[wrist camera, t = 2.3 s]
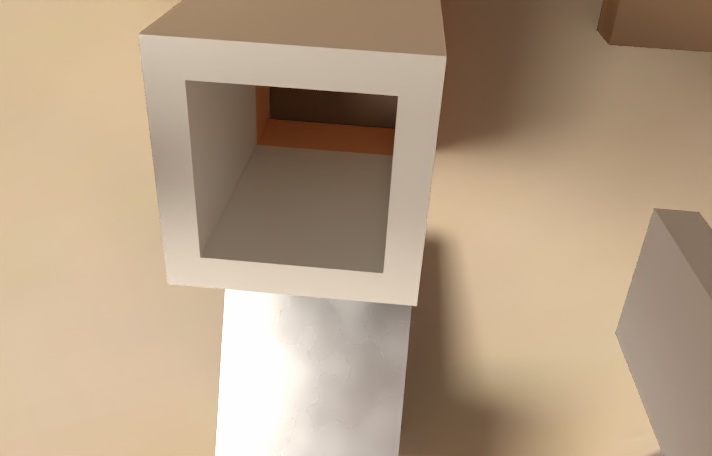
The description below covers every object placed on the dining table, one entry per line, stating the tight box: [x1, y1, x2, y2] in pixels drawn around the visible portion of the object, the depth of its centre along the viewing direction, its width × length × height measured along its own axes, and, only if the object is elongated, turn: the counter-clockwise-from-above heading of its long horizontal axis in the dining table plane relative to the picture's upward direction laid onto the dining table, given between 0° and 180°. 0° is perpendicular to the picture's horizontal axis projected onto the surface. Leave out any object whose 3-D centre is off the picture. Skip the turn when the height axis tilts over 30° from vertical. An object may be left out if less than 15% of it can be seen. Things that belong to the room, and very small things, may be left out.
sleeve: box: [138, 0, 447, 306], centre depth 17 cm, size 6×6×8 cm
